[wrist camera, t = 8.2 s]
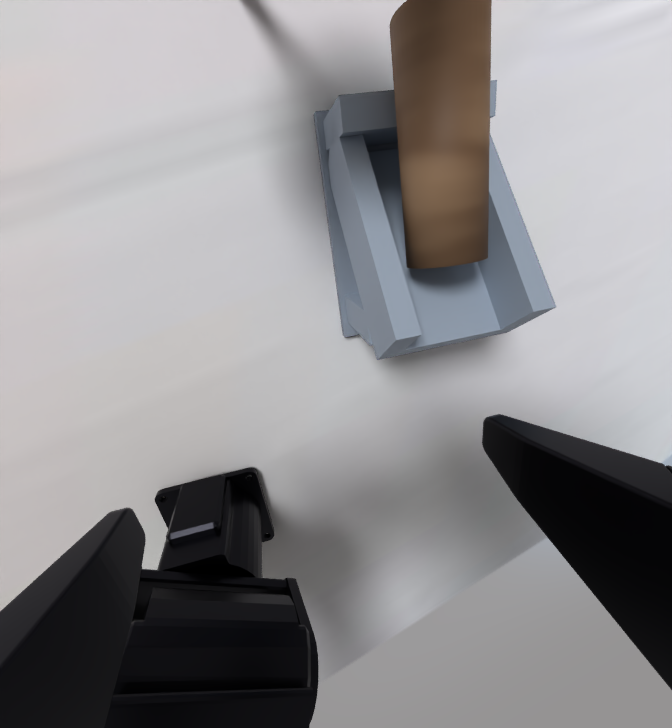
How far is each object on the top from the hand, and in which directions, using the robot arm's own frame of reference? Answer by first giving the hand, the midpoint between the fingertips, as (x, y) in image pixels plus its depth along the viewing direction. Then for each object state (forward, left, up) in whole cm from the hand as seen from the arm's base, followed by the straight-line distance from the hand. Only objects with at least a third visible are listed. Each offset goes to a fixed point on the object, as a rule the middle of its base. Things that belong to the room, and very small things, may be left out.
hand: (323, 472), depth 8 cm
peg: (+3, -7, -7) cm, 10 cm away
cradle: (+4, -7, -12) cm, 15 cm away
